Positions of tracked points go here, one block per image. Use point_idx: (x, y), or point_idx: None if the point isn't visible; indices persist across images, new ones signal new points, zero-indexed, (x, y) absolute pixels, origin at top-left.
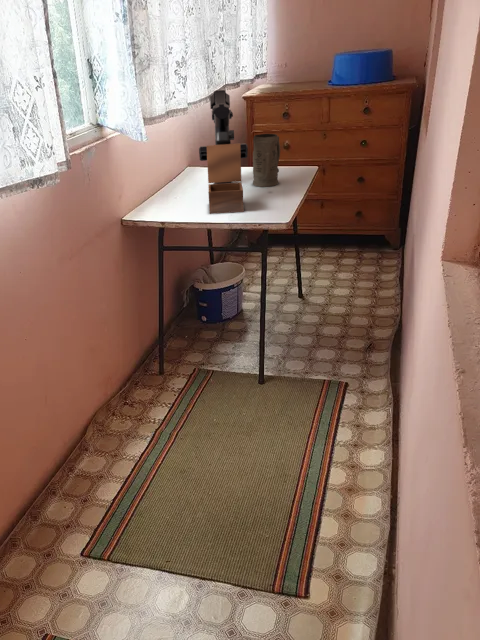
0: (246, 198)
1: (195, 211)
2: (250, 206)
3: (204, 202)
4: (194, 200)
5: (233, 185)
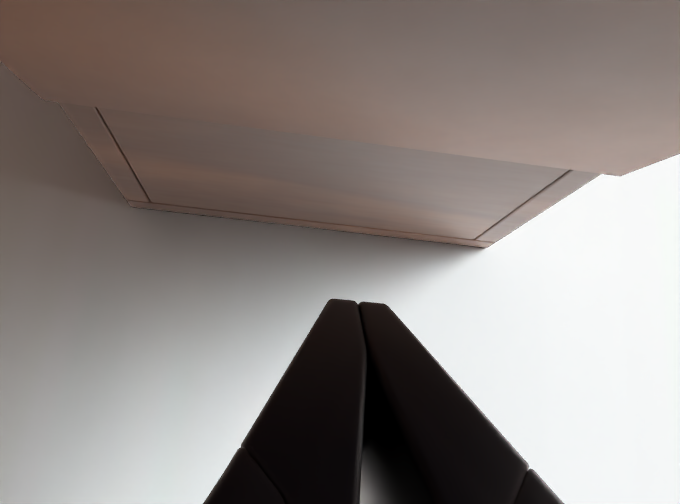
0: (24, 395)
1: None
2: None
3: (537, 368)
4: (650, 498)
5: None
